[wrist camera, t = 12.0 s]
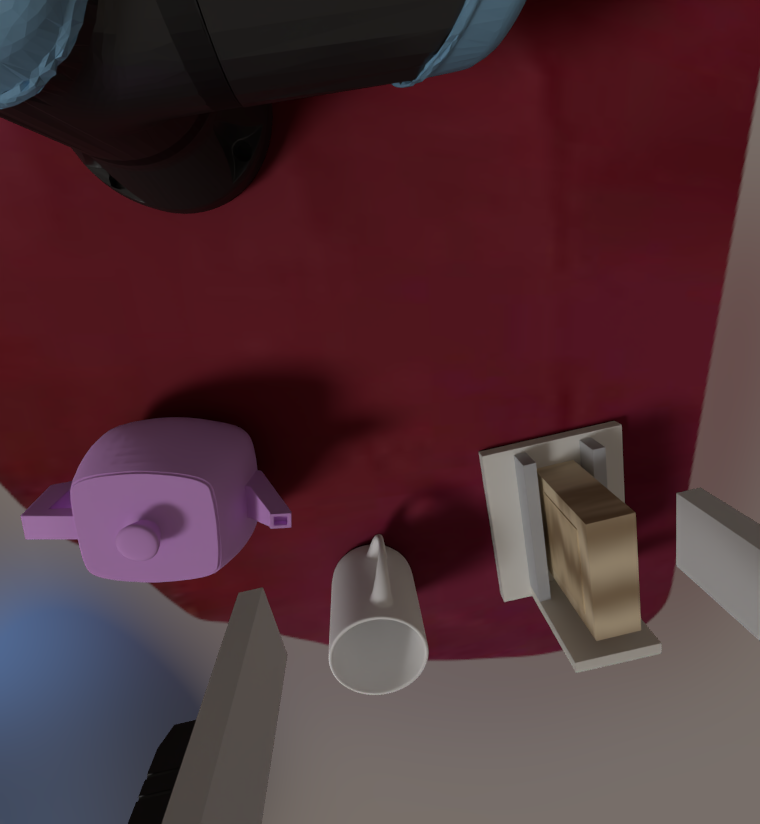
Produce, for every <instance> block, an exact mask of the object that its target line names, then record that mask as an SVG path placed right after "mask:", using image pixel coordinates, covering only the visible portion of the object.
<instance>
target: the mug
mask: <svg viewBox="0 0 760 824" xmlns="http://www.w3.org/2000/svg"><path fill="white" fill-rule="evenodd" d="M427 660H428V644H427V640H426V635H425V630H424V626H423V621H422V616H421V612H420V607H419V602H418V598H417V593H416V588H415V584H414V579H413V575H412V571H411V568H410V566H409V564H408V562H407V561H406V559H405V558H404V557H403V556H402V555H401V554H400V553H399V552H397V551H396V550H394V549H392V548H390V547H387V546H385V544H384V540H383V537H382V535H381V534H377V535H375V536H374V538H373V540H372V542H371V544H370V545H364V546H360V547H358V548H355V549H353V550H351V551H350V552H348V553H347V554H346V555H345V556H344V557H343V558H342V559H341V560H340V561H339V563H338V564H337V566H336V568H335V571H334V574H333V580H332V595H331V616H330V637H329V665H330V668H331V671H332V673H333V675H334V676H335V678H336V679H337V680H338V681H339V682H340V683H341V684H342V685H344V686H345V687H347V688H349V689H350V690H353V691H355V692H358V693H362V694H368V695H381V694H388V693H392V692H395V691H398V690H400V689H402V688H404V687H406V686H408V685H409V684H411V683H412V682H413V681H414V680H416V679H417V678H418V677H419V675H420V674H421V673H422V671H423V669H424V668H425V666H426V663H427Z"/></svg>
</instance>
